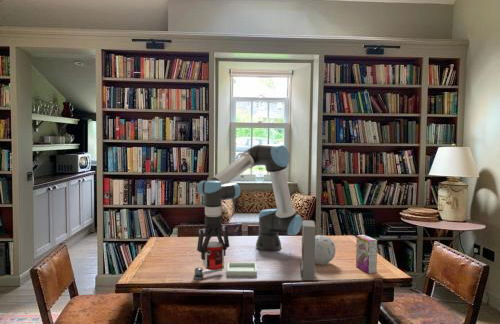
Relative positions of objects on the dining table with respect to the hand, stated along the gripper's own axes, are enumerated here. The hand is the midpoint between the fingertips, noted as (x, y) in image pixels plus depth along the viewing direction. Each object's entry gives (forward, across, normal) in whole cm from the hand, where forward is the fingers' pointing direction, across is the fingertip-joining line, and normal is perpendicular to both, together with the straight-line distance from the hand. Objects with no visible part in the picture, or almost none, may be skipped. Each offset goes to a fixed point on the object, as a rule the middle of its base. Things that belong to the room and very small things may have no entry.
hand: (213, 264), depth 169 cm
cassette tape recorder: (+8, -41, +16) cm, 45 cm away
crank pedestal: (+7, +5, -5) cm, 10 cm away
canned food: (+2, 0, 0) cm, 2 cm away
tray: (+8, -16, -3) cm, 18 cm away
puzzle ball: (+8, -58, +6) cm, 59 cm away
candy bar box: (+9, -72, +25) cm, 77 cm away
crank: (+6, -1, -5) cm, 8 cm away
